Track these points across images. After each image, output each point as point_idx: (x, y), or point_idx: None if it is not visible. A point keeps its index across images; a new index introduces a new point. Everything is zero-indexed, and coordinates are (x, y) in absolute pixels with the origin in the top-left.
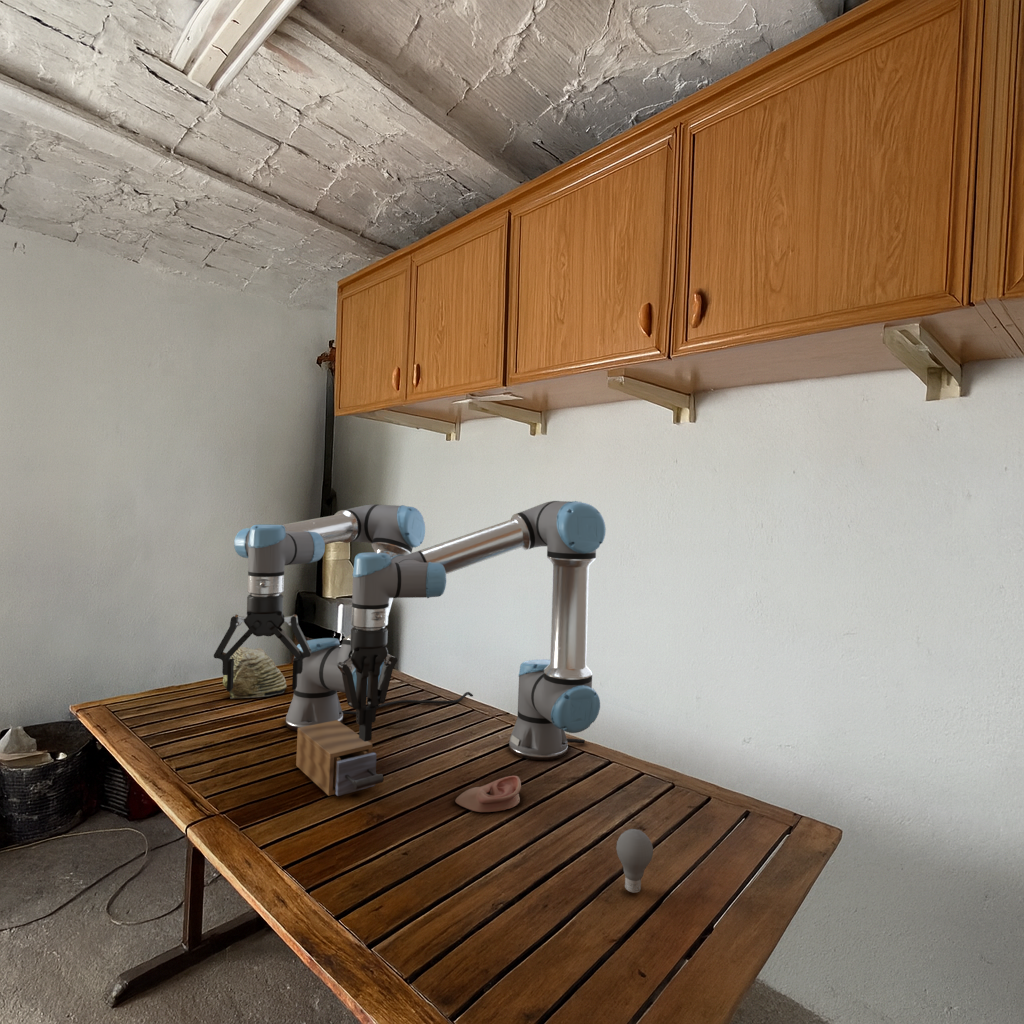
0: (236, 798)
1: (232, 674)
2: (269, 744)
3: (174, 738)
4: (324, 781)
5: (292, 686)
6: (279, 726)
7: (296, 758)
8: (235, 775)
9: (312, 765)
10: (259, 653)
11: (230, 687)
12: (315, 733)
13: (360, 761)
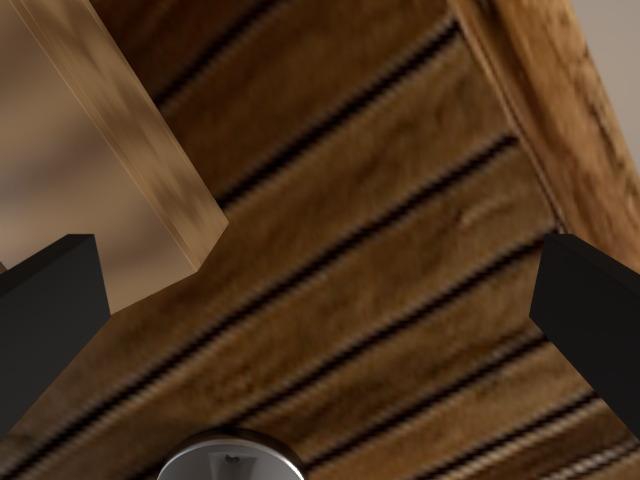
0: (364, 7)
1: (605, 347)
2: (329, 367)
3: (577, 422)
4: (84, 16)
5: (78, 242)
6: (322, 469)
7: (224, 229)
8: (391, 177)
9: (140, 116)
10: None
11: (562, 245)
12: (110, 205)
13: None
